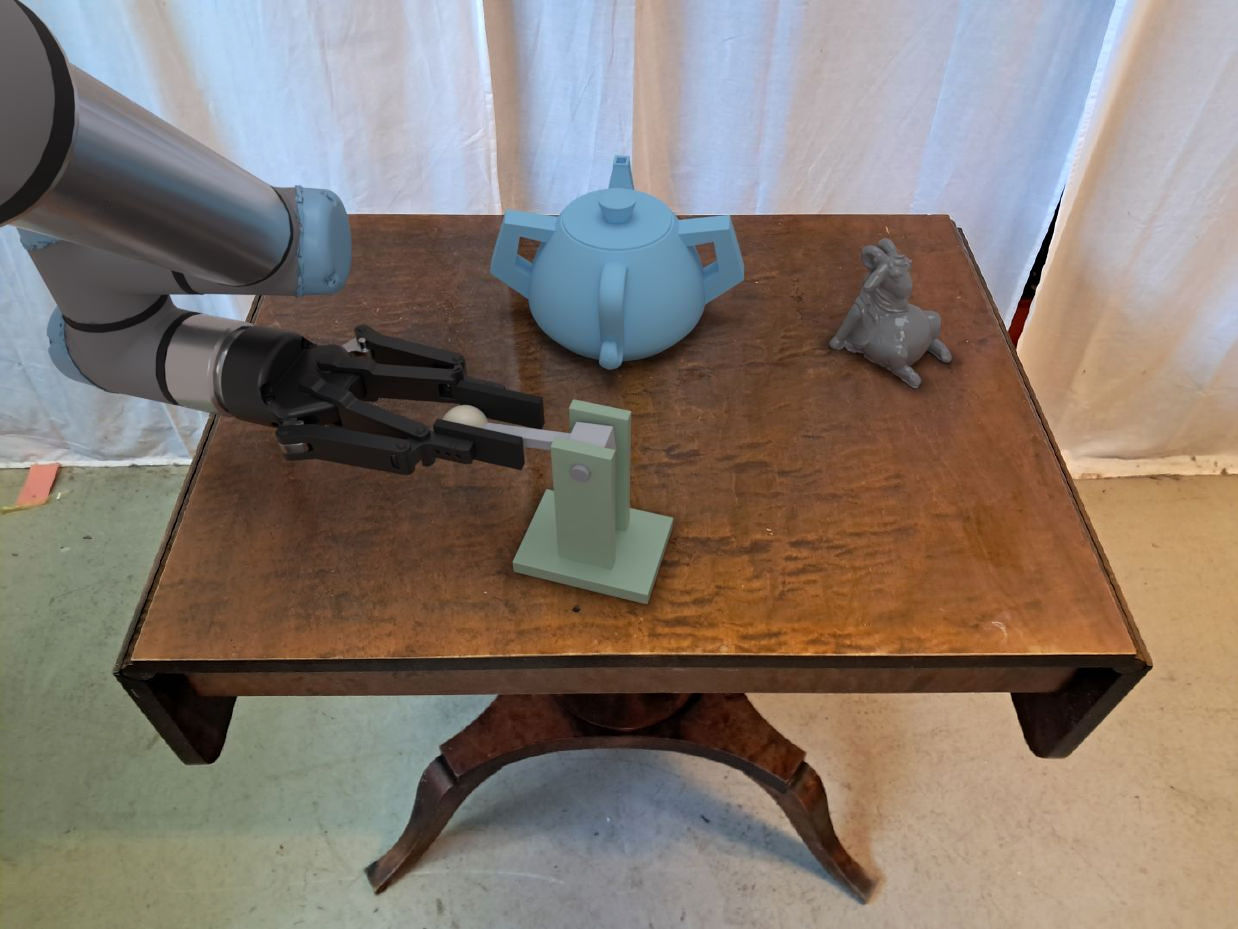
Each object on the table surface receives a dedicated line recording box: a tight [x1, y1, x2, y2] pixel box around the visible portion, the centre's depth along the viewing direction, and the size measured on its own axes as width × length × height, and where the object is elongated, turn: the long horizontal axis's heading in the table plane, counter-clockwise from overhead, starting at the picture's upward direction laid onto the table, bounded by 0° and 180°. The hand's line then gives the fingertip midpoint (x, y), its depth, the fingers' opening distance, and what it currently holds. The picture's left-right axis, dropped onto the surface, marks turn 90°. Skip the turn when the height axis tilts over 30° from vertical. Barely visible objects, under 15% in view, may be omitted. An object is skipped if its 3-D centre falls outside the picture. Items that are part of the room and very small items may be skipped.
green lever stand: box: [512, 398, 674, 605], centre depth 71 cm, size 11×8×14 cm
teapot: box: [489, 154, 745, 371], centre depth 92 cm, size 19×19×14 cm
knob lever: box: [442, 404, 616, 453], centre depth 69 cm, size 13×4×4 cm, turn 74°
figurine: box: [828, 237, 953, 389], centre depth 89 cm, size 8×10×11 cm
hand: (531, 433), depth 68 cm, fingers closed on knob lever, 4 cm apart
